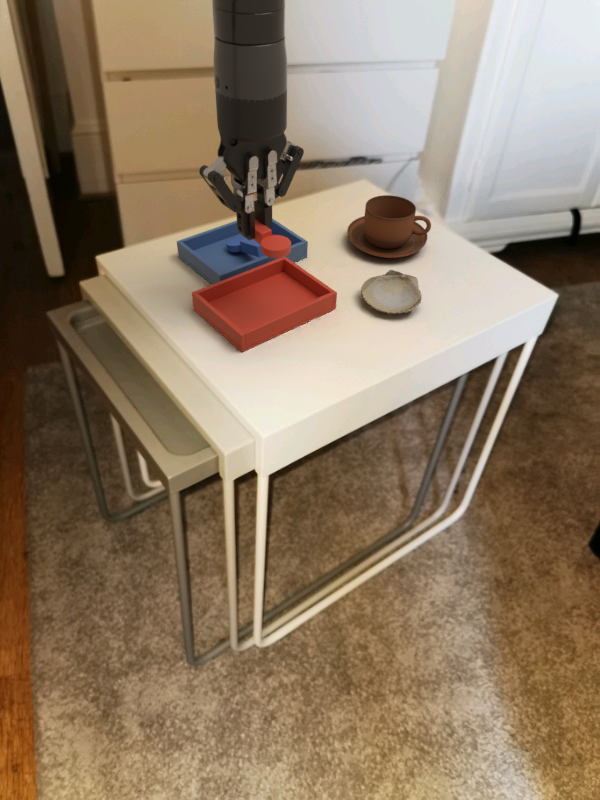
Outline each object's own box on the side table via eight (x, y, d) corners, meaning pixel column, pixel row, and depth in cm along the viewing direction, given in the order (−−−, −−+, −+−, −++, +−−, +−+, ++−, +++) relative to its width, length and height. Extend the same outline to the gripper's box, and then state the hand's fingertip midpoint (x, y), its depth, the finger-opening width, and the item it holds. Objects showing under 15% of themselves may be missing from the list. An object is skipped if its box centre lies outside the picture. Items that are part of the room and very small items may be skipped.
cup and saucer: (414, 223, 102) (420, 187, 98) (434, 263, 94) (442, 225, 89) (340, 226, 101) (343, 189, 97) (354, 267, 92) (357, 228, 88)
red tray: (241, 352, 78) (241, 335, 76) (193, 309, 84) (191, 292, 82) (336, 308, 85) (337, 292, 83) (284, 271, 91) (284, 255, 89)
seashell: (354, 316, 87) (406, 327, 82) (349, 298, 85) (402, 308, 80) (385, 281, 91) (435, 289, 86) (381, 263, 89) (432, 270, 84)
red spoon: (297, 251, 76) (297, 239, 75) (272, 261, 74) (272, 249, 73) (257, 224, 80) (257, 213, 79) (234, 233, 79) (233, 221, 78)
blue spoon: (222, 249, 94) (220, 238, 93) (242, 241, 96) (241, 231, 95) (253, 260, 88) (251, 248, 87) (273, 252, 90) (272, 241, 89)
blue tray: (220, 292, 87) (219, 275, 85) (178, 257, 93) (176, 241, 91) (307, 257, 94) (308, 241, 92) (262, 226, 100) (262, 211, 98)
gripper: (215, 108, 61) (225, 265, 73) (324, 81, 67) (317, 230, 79) (175, 86, 65) (191, 238, 77) (281, 63, 72) (281, 207, 84)
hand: (255, 233), depth 78 cm, fingers closed on red spoon, 1 cm apart
